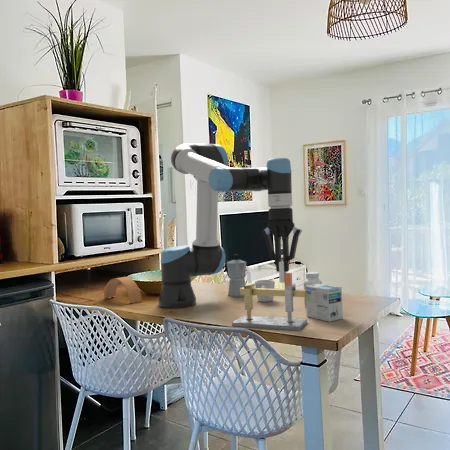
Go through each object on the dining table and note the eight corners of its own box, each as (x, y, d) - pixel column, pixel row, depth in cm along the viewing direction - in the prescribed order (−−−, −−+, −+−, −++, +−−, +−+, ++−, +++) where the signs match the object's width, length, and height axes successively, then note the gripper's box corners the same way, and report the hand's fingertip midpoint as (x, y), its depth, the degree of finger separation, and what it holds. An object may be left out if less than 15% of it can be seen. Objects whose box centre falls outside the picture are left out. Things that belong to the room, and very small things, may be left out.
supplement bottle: (326, 306, 170) (325, 272, 170) (316, 309, 166) (315, 274, 165) (311, 304, 175) (309, 271, 175) (301, 307, 170) (299, 273, 170)
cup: (273, 304, 178) (273, 283, 178) (253, 304, 180) (252, 284, 179) (276, 298, 189) (275, 279, 188) (257, 298, 190) (256, 279, 190)
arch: (130, 304, 191) (129, 280, 190) (104, 299, 204) (102, 277, 204) (141, 301, 195) (140, 278, 194) (115, 297, 208) (114, 275, 208)
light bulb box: (343, 318, 151) (342, 286, 151) (329, 322, 147) (328, 289, 147) (319, 313, 160) (318, 282, 160) (305, 316, 156) (304, 285, 156)
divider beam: (238, 319, 151) (236, 285, 151) (243, 315, 156) (242, 282, 155) (303, 323, 142) (302, 287, 142) (307, 319, 147) (306, 284, 146)
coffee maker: (254, 295, 197) (253, 254, 197) (238, 298, 192) (236, 255, 192) (234, 291, 210) (232, 252, 209) (218, 294, 205) (216, 253, 204)
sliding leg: (285, 321, 145) (284, 273, 144) (290, 317, 150) (289, 270, 149) (292, 321, 144) (290, 273, 143) (296, 317, 149) (295, 271, 148)
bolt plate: (232, 326, 148) (232, 322, 148) (243, 318, 157) (243, 315, 157) (299, 330, 139) (299, 326, 139) (307, 322, 148) (306, 318, 148)
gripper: (256, 208, 144) (259, 283, 145) (297, 206, 139) (300, 284, 139) (264, 208, 151) (267, 279, 151) (303, 206, 145) (306, 280, 146)
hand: (283, 281), depth 145 cm, fingers closed
